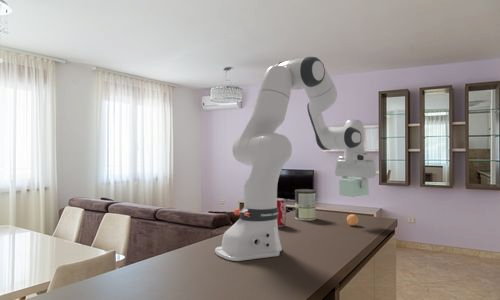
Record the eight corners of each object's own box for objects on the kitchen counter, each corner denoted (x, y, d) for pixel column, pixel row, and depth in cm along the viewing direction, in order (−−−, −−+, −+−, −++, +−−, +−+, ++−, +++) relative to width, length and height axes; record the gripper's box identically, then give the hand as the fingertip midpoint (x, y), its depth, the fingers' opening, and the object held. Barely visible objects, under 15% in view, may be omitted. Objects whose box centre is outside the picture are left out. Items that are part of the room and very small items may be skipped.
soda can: (285, 224, 155) (285, 198, 155) (286, 227, 148) (285, 200, 148) (270, 224, 156) (270, 197, 156) (269, 227, 149) (269, 199, 149)
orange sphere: (362, 220, 152) (356, 228, 150) (353, 219, 156) (347, 226, 154) (357, 212, 150) (351, 221, 148) (348, 211, 155) (342, 219, 152)
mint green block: (352, 196, 147) (352, 180, 147) (339, 195, 153) (339, 179, 153) (368, 194, 153) (368, 178, 153) (355, 193, 159) (355, 177, 159)
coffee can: (290, 218, 170) (290, 189, 170) (304, 215, 176) (304, 188, 176) (306, 221, 162) (306, 191, 162) (320, 218, 168) (320, 190, 168)
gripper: (332, 156, 160) (332, 185, 160) (368, 156, 143) (368, 189, 143) (341, 156, 164) (341, 185, 164) (378, 156, 147) (378, 188, 147)
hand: (354, 187), depth 153 cm, fingers closed on mint green block, 7 cm apart
